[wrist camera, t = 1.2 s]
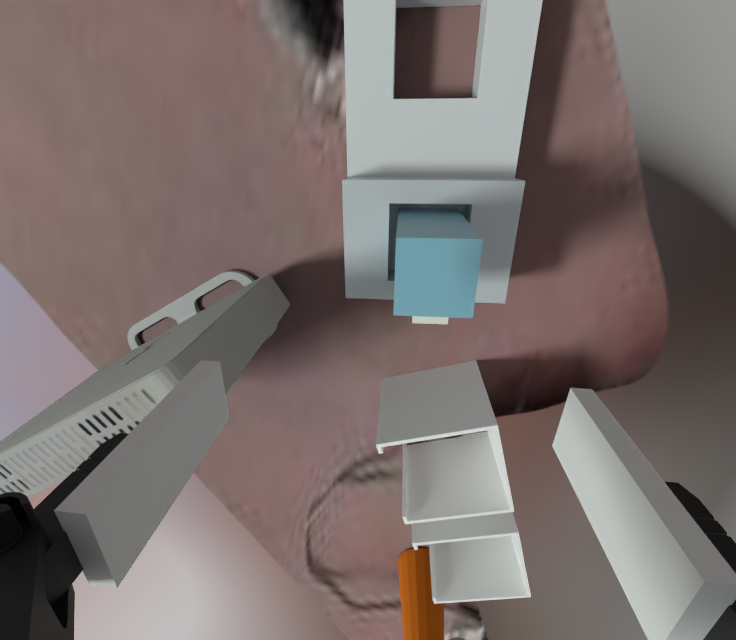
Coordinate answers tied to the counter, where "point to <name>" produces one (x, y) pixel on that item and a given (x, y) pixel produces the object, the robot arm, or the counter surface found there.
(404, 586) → the spray bottle
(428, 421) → the storage container
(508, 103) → the panel
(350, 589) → the counter surface
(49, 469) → the network device
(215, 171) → the counter surface
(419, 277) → the plug
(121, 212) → the counter surface
